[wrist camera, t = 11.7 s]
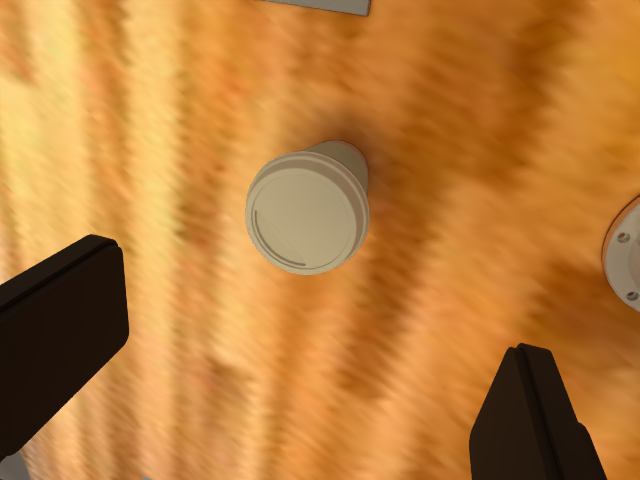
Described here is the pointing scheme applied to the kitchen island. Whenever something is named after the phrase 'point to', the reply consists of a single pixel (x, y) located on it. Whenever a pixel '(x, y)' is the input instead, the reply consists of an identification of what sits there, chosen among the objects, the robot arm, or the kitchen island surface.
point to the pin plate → (333, 5)
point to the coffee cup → (310, 208)
